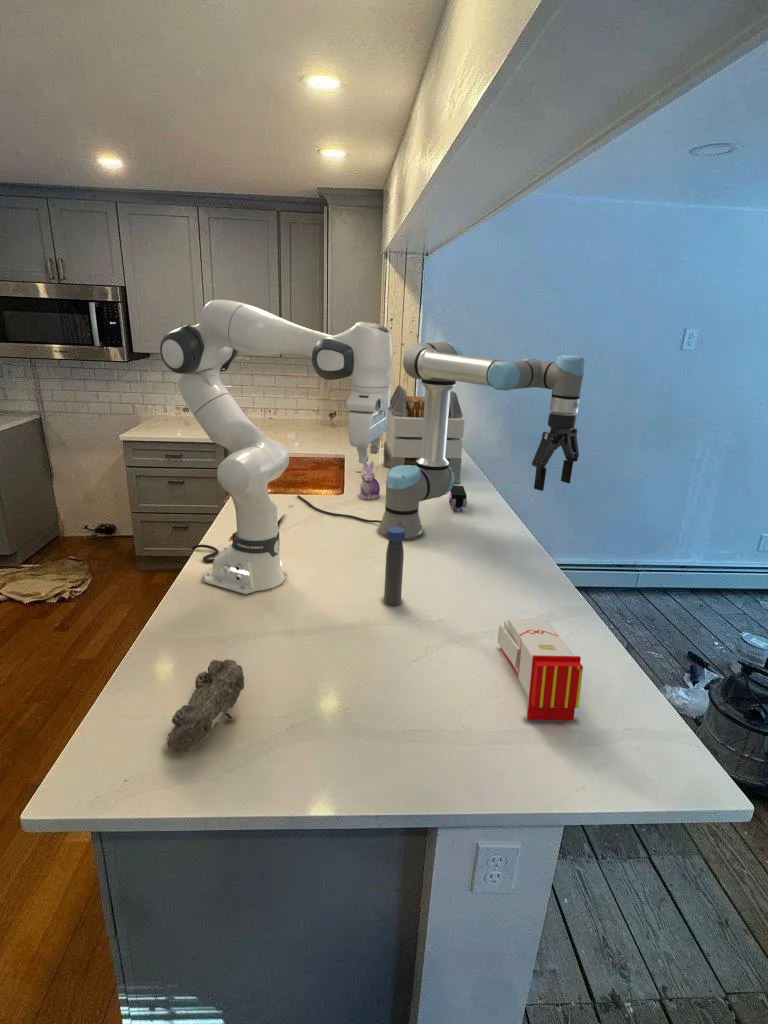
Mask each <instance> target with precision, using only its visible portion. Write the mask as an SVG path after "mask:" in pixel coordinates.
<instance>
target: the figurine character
mask: <svg viewBox="0 0 768 1024" xmlns="http://www.w3.org/2000/svg"><path fill="white" fill-rule="evenodd" d="M467 495H468V494H467V493H466V490H465V487H464V485H456V484H455V485H454V484H453V487H452V489H451V490H450V491H449V496H448V499H449V500H448V504H449V506H450V507H451V508H452V510H453V512H456V510H458V509H459V510H460V512H463V509H464V508H465V509H466V508H467V506H468V499H467V497H468V496H467Z"/></svg>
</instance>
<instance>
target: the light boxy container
mask: <svg viewBox="0 0 768 1024" xmlns="http://www.w3.org/2000/svg"><path fill="white" fill-rule="evenodd" d="M407 394H408V393H407V390H406V389H404V388H403V387H402V385H399V384H398V385H397V386H396V388H395V390H394V392H393V394H392V395H391V397H390V407H388V408H387V412H388V424H387V430H386V432H385V438H384V442H383V466H384V467H388V468H389V470H390V469H392V468H394V467H396V466H401V465H404V466H405V465H413V466H416V461H417V459H418V458H420V457H421V449H422V434H423V419H424V404H425V396H415V395H414V396H413V395H412V396H411V395H407ZM464 429H465V419H464V418H463V411H462V408H461V405H460V402H459V398H458V395H457V392H455V391H453V390H451V392H450V404H449V416H448V428H447V441H446V453H445V458H446V459H447V461H448V462H449V466H450V467H451V469H452V473H454V484H455V483H456V484H459V483H461V472H462V461H463V460H462V453H463V442H464V441H463V440H462V439H463V438H464V431H465V430H464Z"/></svg>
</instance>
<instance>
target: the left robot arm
mask: <svg viewBox="0 0 768 1024" xmlns="http://www.w3.org/2000/svg"><path fill="white" fill-rule="evenodd" d="M159 352H160V357H161V360H162V361H163V363H164V365H165V366H166V367H167V368H168V369H169V370H170V371H171V372H173V373H175V374H180V375H179V377H178V380H177V387H178V390H179V392H180V395H181V396H182V399H183V400H184V402H185V405H186V406H187V407H188V409H189V411H190V412H191V414H192V416H193V417H194V419H196V421H197V423H198V424H199V425H200V427H201V428H202V430H204V432H205V434H206V435H207V437H208V438H209V439H210V441H212V443H214V444H216V445H218V446H219V445H220V446H221V447H223V448H225V449H226V450H227V451H229V452H230V454H229V455H227V457H225V458H224V459H223V460H222V461H221V462H220V463H219V465H218V466H217V469H216V470H217V471H216V474H217V475H216V477H217V480H218V483H219V485H220V487H221V488H222V489H223V490H224V491H225V492H226V493H228V494H229V495H230V497H231V500H232V502H233V505H234V510H235V519H236V520H235V521H236V531H235V532H233V533H232V534H231V536H229V537H228V542H232V543H231V544H230V545H228V546H227V547H224V548H223V550H221V551H220V552H219V549H218V548H217V547H214V546H212V545H209V544H196V545H194V546H192V548H191V550H192V551H193V550H196V549H199V548H204V549H209V550H212V551H214V552H212V553H209V554H206V555H204V556H203V557H202V561H204V563H205V562H206V563H212V566H211V568H209V569H208V571H207V572H206V573H205V574H204V577H203V582H204V583H205V584H206V583H207V584H210V585H212V586H215V587H219V588H223V589H226V590H230V591H233V592H236V593H239V594H243V595H248V594H250V593H254V592H258V591H259V592H260V591H264V590H265V591H266V590H269V589H273V588H276V587H278V586H280V585H281V584H282V583H283V582H284V581H285V574H284V571H283V567H282V565H283V564H282V563H283V562H282V561H281V557H280V549H281V540H280V539H281V538H280V532H279V526H278V506H277V505H276V503H275V502H274V501H273V500H271V498H270V495H269V490H268V487H269V483H271V482H272V481H275V480H277V479H278V478H280V476H282V475H283V473H284V472H285V471H286V470H287V469H288V467H289V463H290V455H289V452H288V450H287V448H286V447H285V446H284V445H283V444H282V443H281V442H278V441H275V440H273V439H272V438H271V437H269V436H268V435H267V434H265V433H264V432H263V431H262V430H260V428H258V427H257V426H256V425H255V424H254V423H253V422H252V421H251V420H250V419H249V418H248V416H246V414H245V412H243V410H242V409H241V407H240V406H239V404H238V403H237V402H236V400H235V399H234V397H233V396H232V395H231V393H230V392H229V390H228V389H227V387H226V386H225V385H224V383H223V382H222V380H221V377H220V375H221V374H220V373H221V372H227V371H228V370H229V368H230V366H231V363H232V362H233V361H234V360H235V359H236V357H237V356H238V354H239V352H240V353H244V354H248V355H252V356H264V357H265V356H275V355H276V356H277V355H286V354H287V355H288V354H289V355H290V354H291V355H292V354H295V355H296V354H297V355H304V356H307V357H311V364H312V367H313V369H314V371H315V373H316V375H318V377H320V378H321V379H323V380H326V381H332V382H336V381H337V382H338V381H344V380H350V382H351V383H350V384H351V385H350V386H351V387H350V388H351V389H350V395H349V396H348V398H347V400H346V404H345V409H346V411H348V416H347V417H348V418H347V424H348V426H347V427H348V442H349V443H350V446H351V447H355V448H356V450H357V454H358V463H359V464H362V465H363V464H365V463H366V464H367V463H368V462H369V454H368V449H369V452H370V454H371V455H378V453H379V452H380V444H381V440H382V435H384V434H385V433H386V430H387V424H388V412H387V408H388V407H390V400H391V394H392V393H391V392H392V391H391V390H392V382H391V379H390V377H391V376H390V373H391V370H392V364H393V348H392V336H391V332H390V331H389V329H388V328H387V327H386V326H384V325H382V324H379V323H376V322H369V321H358V322H356V323H354V324H353V325H352V327H350V328H349V329H347V330H345V331H343V332H340V333H338V334H334V335H333V334H330V333H326V332H323V331H319V330H316V329H312V328H308V327H305V326H301V325H299V324H296V323H295V322H292V321H290V320H287V319H285V318H282V317H280V316H278V315H276V314H274V313H271V312H269V311H266V310H264V309H262V308H259V307H256V306H253V305H251V304H248V303H244V302H239V301H235V300H228V299H213V300H210V301H208V302H207V303H206V304H205V305H204V307H203V308H202V310H201V313H200V318H199V322H198V323H197V324H194V325H190V324H186V325H183V326H181V327H178V328H175V329H174V330H173V329H172V331H169V332H168V333H167V334H165V335H164V336H163V337H162V339H161V341H160V344H159ZM369 445H370V447H369ZM214 556H215V557H214ZM212 557H214V558H212Z"/></svg>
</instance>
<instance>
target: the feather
mask: <svg viewBox="0 0 768 1024" xmlns="http://www.w3.org/2000/svg"><path fill="white" fill-rule="evenodd" d="M285 515H286V514H283V515H282V516H281V518H279V519H278V520H277V522H278V527H279V526H280V524H281V522H282V520H283V519H284V516H285Z"/></svg>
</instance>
